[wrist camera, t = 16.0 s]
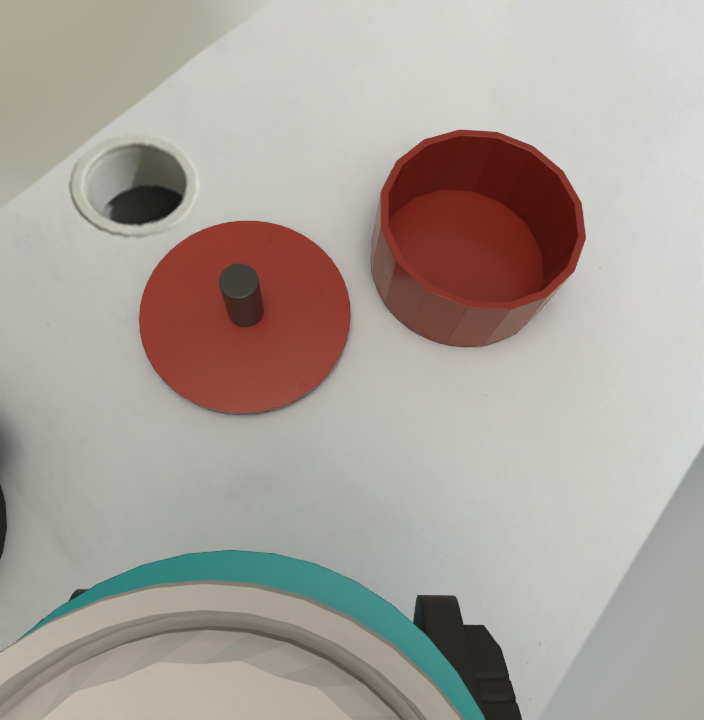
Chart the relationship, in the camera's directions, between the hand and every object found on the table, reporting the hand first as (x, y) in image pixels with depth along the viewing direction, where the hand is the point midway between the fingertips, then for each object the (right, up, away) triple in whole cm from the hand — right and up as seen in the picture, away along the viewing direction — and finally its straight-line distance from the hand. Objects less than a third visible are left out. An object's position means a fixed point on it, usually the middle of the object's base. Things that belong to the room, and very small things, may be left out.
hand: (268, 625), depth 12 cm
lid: (-6, +8, +29) cm, 31 cm away
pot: (+9, +12, +32) cm, 36 cm away
